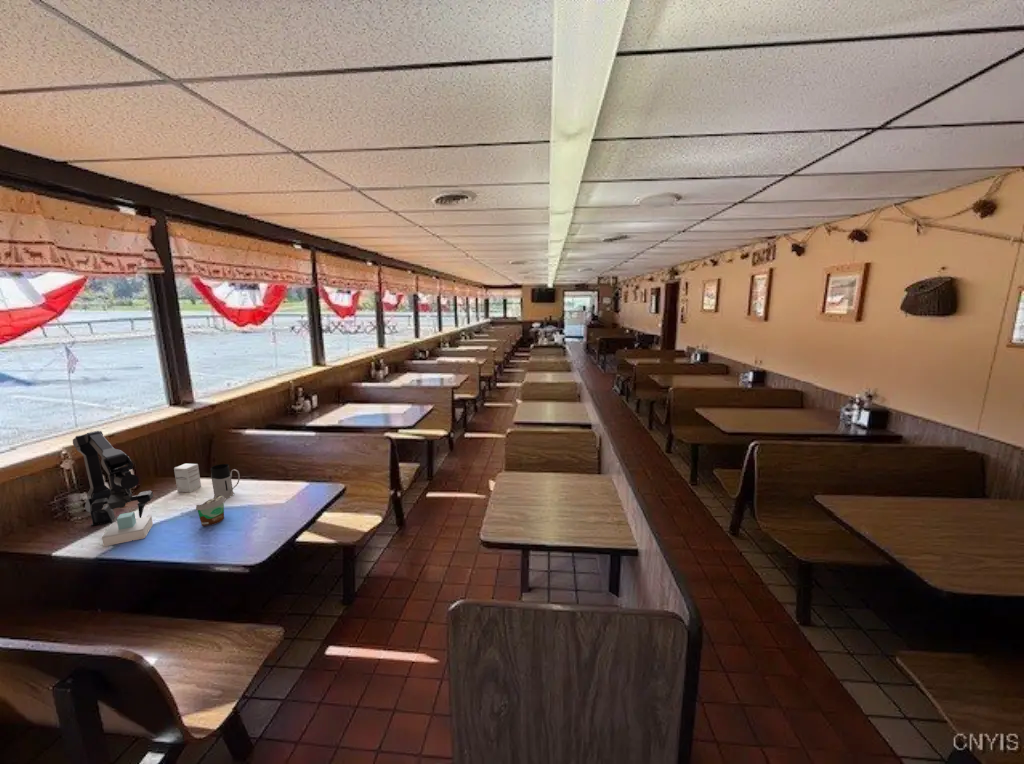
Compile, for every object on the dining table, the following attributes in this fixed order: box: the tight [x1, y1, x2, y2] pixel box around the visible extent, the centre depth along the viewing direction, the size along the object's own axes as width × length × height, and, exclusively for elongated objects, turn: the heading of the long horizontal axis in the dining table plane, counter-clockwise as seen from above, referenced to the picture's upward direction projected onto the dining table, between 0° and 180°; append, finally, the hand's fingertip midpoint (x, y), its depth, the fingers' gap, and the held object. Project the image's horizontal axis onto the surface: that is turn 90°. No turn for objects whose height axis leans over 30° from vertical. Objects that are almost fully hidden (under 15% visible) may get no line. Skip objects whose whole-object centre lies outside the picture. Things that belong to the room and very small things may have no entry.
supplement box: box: [173, 463, 202, 493], centre depth 231 cm, size 7×7×13 cm
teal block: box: [116, 511, 137, 530], centre depth 186 cm, size 5×5×5 cm
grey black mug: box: [210, 463, 241, 499], centre depth 221 cm, size 9×14×15 cm, turn 82°
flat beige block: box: [101, 515, 154, 547], centre depth 187 cm, size 13×13×4 cm
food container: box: [195, 494, 226, 527], centre depth 196 cm, size 12×6×10 cm, turn 168°
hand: (126, 520), depth 186 cm, fingers open, 9 cm apart
